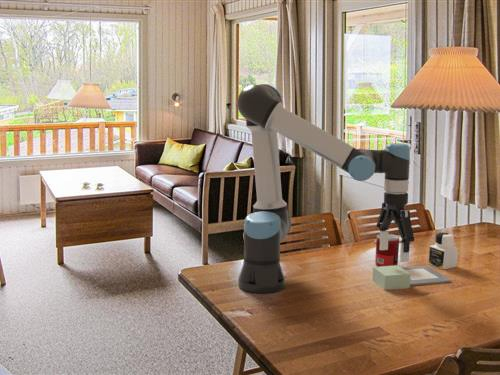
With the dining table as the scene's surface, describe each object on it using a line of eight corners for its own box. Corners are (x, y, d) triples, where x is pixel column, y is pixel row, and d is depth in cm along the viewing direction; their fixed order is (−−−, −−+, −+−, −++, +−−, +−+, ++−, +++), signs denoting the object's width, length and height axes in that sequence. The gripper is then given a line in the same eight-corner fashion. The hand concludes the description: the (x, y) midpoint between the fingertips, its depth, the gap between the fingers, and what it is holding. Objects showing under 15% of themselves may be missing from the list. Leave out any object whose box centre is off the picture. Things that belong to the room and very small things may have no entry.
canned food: (398, 269, 209) (400, 239, 206) (375, 268, 210) (377, 238, 208) (396, 262, 216) (398, 234, 214) (374, 261, 217) (376, 233, 215)
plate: (409, 285, 192) (409, 283, 192) (385, 270, 207) (385, 268, 207) (451, 281, 196) (451, 279, 196) (425, 267, 211) (425, 265, 211)
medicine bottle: (428, 264, 215) (430, 232, 213) (442, 261, 218) (444, 230, 216) (442, 269, 209) (444, 237, 206) (457, 267, 212) (459, 235, 210)
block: (384, 290, 188) (385, 275, 188) (372, 281, 197) (373, 267, 196) (409, 288, 190) (410, 273, 190) (397, 279, 199) (397, 265, 198)
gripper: (427, 198, 177) (424, 265, 181) (387, 184, 201) (385, 244, 205) (405, 200, 175) (402, 268, 179) (367, 185, 199) (366, 246, 203)
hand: (393, 255), depth 192 cm, fingers open, 13 cm apart
